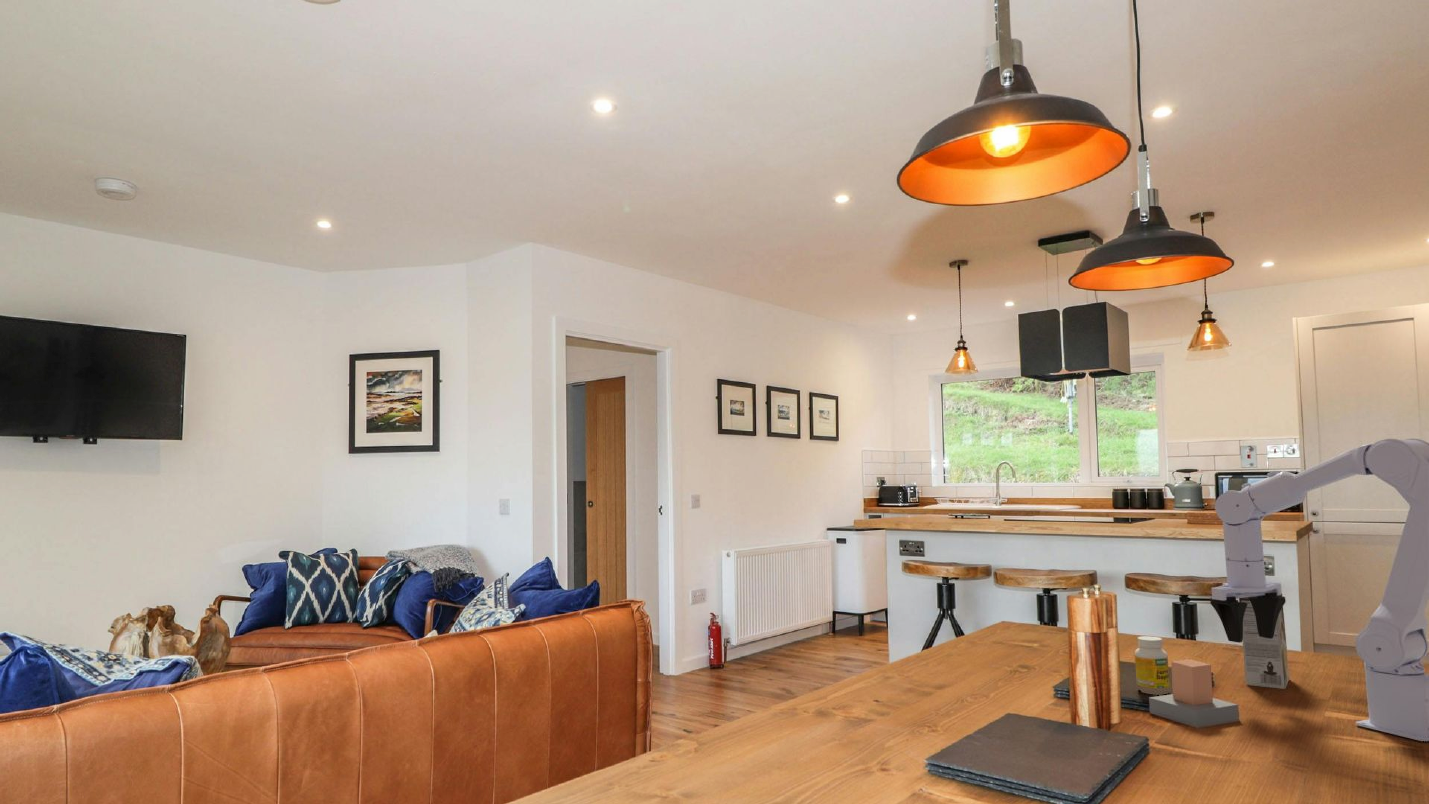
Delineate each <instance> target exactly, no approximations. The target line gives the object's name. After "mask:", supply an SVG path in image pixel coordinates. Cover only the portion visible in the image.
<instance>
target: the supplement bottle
mask: <svg viewBox="0 0 1429 804" xmlns="http://www.w3.org/2000/svg"><path fill="white" fill-rule="evenodd" d="M1137 644H1138V647H1139V648H1138V647H1137V649H1135V651H1134V662H1135V663H1134V664H1135V675H1136V676H1135V678H1136V685H1137V684H1138V685H1140V686H1142V687H1149V688H1165V687H1170V688H1171V686H1170V672H1169V670H1170V669H1169V658H1168V657H1169V655H1168V652H1167V651H1165V649H1163V646H1164V644H1163V638H1162V637H1158V636H1149V635H1147V636H1146V635H1144V636H1143V635H1142V636H1138V637H1137Z"/></svg>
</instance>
